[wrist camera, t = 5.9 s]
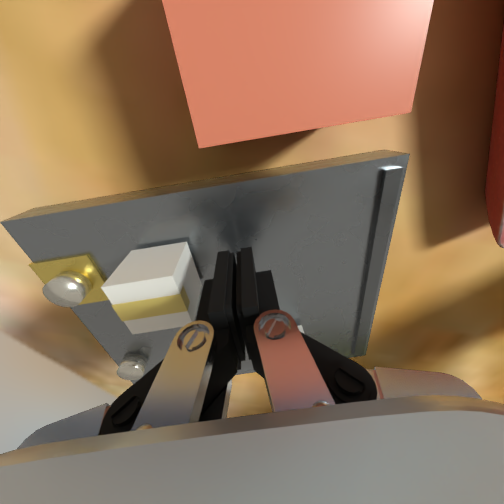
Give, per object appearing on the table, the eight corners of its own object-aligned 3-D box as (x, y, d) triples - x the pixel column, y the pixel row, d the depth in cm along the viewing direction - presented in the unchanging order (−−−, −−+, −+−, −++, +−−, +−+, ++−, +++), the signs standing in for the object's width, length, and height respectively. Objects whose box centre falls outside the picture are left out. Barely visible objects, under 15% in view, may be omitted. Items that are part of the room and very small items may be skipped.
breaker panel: (384, 149, 12) (429, 157, 9) (354, 335, 20) (373, 368, 17) (31, 208, 12) (-29, 233, 9) (145, 367, 20) (131, 405, 18)
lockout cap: (343, -84, 8) (520, -424, 3) (334, 118, 11) (410, 112, 6) (174, -52, 8) (79, -334, 3) (214, 138, 11) (198, 148, 6)
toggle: (187, 241, 11) (172, 276, 9) (202, 284, 13) (193, 325, 10) (131, 250, 11) (99, 287, 9) (152, 292, 13) (131, 335, 10)
